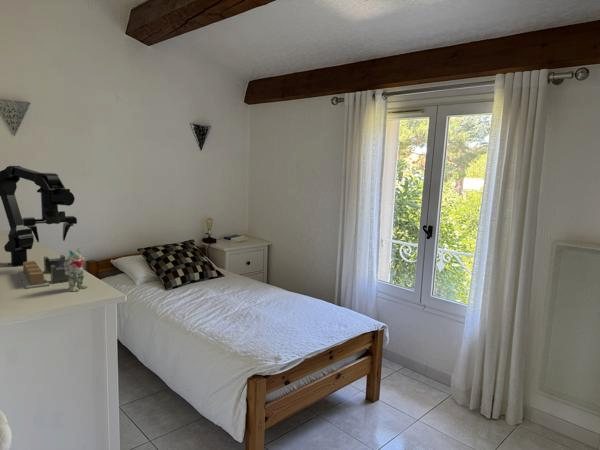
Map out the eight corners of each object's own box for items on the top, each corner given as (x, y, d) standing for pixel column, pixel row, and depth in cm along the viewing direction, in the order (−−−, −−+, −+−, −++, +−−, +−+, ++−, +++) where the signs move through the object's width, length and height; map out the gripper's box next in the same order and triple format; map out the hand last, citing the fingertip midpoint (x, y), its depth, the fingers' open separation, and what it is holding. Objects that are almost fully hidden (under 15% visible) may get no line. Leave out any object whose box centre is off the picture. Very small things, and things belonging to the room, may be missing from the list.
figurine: (63, 293, 141) (61, 251, 139) (62, 287, 147) (60, 246, 145) (89, 290, 145) (87, 249, 143) (86, 284, 152) (85, 245, 149)
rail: (23, 271, 162) (22, 262, 161) (35, 270, 164) (34, 260, 164) (30, 285, 145) (30, 274, 145) (43, 283, 148) (43, 273, 147)
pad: (18, 272, 162) (18, 271, 162) (39, 270, 167) (39, 269, 167) (26, 288, 143) (26, 287, 143) (49, 285, 148) (49, 284, 148)
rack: (44, 271, 166) (43, 256, 165) (63, 269, 170) (63, 254, 169) (52, 283, 151) (52, 267, 150) (74, 280, 155) (73, 265, 154)
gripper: (24, 206, 153) (26, 246, 156) (79, 205, 165) (80, 242, 168) (21, 203, 162) (23, 241, 164) (73, 202, 174) (74, 238, 176)
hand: (51, 241), depth 168 cm, fingers open, 9 cm apart
